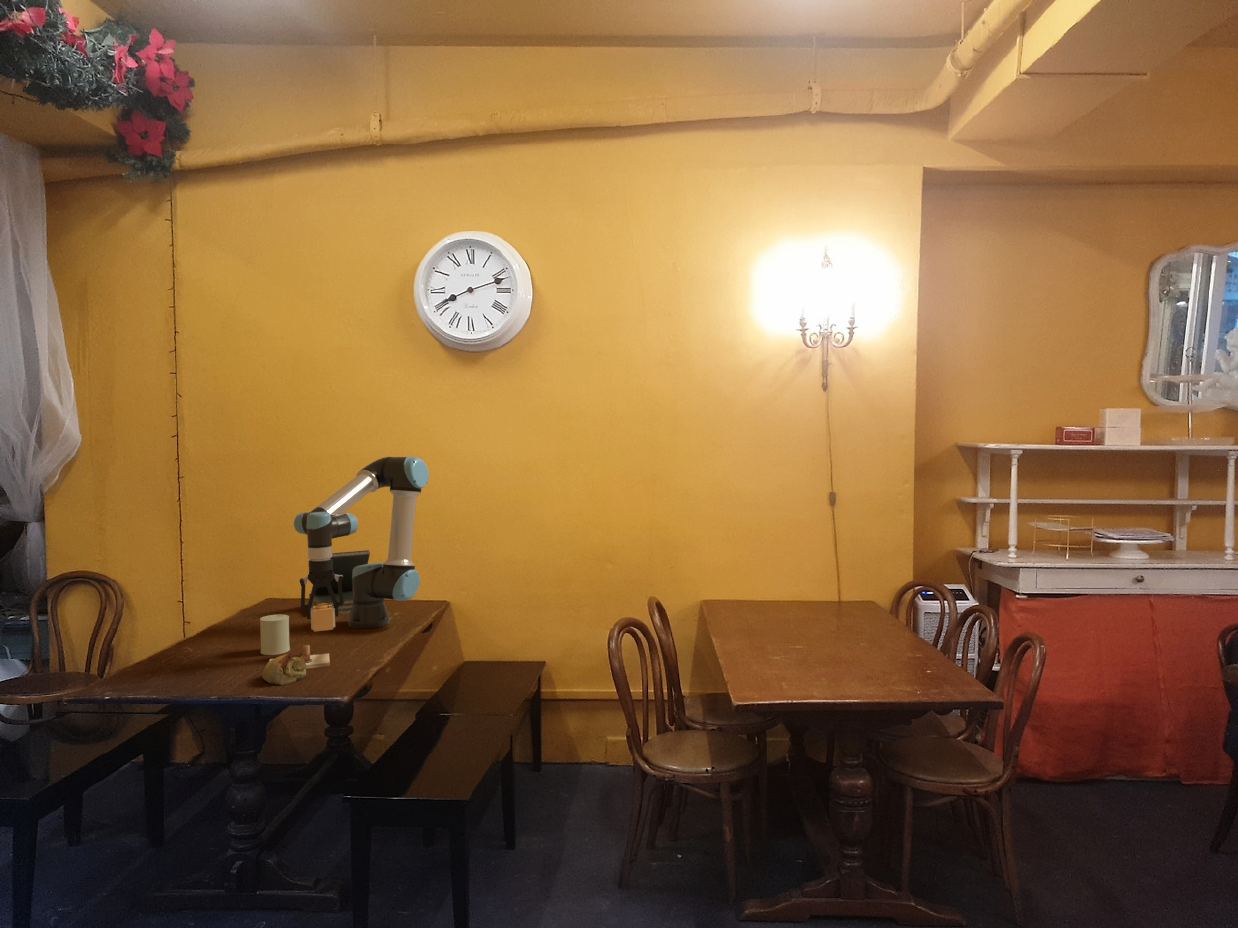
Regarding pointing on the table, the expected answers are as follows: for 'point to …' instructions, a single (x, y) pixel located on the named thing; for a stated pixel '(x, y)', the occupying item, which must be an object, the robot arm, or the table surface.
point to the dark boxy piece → (344, 567)
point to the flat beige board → (314, 658)
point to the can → (274, 634)
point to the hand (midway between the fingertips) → (323, 627)
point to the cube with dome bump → (322, 617)
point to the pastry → (285, 669)
